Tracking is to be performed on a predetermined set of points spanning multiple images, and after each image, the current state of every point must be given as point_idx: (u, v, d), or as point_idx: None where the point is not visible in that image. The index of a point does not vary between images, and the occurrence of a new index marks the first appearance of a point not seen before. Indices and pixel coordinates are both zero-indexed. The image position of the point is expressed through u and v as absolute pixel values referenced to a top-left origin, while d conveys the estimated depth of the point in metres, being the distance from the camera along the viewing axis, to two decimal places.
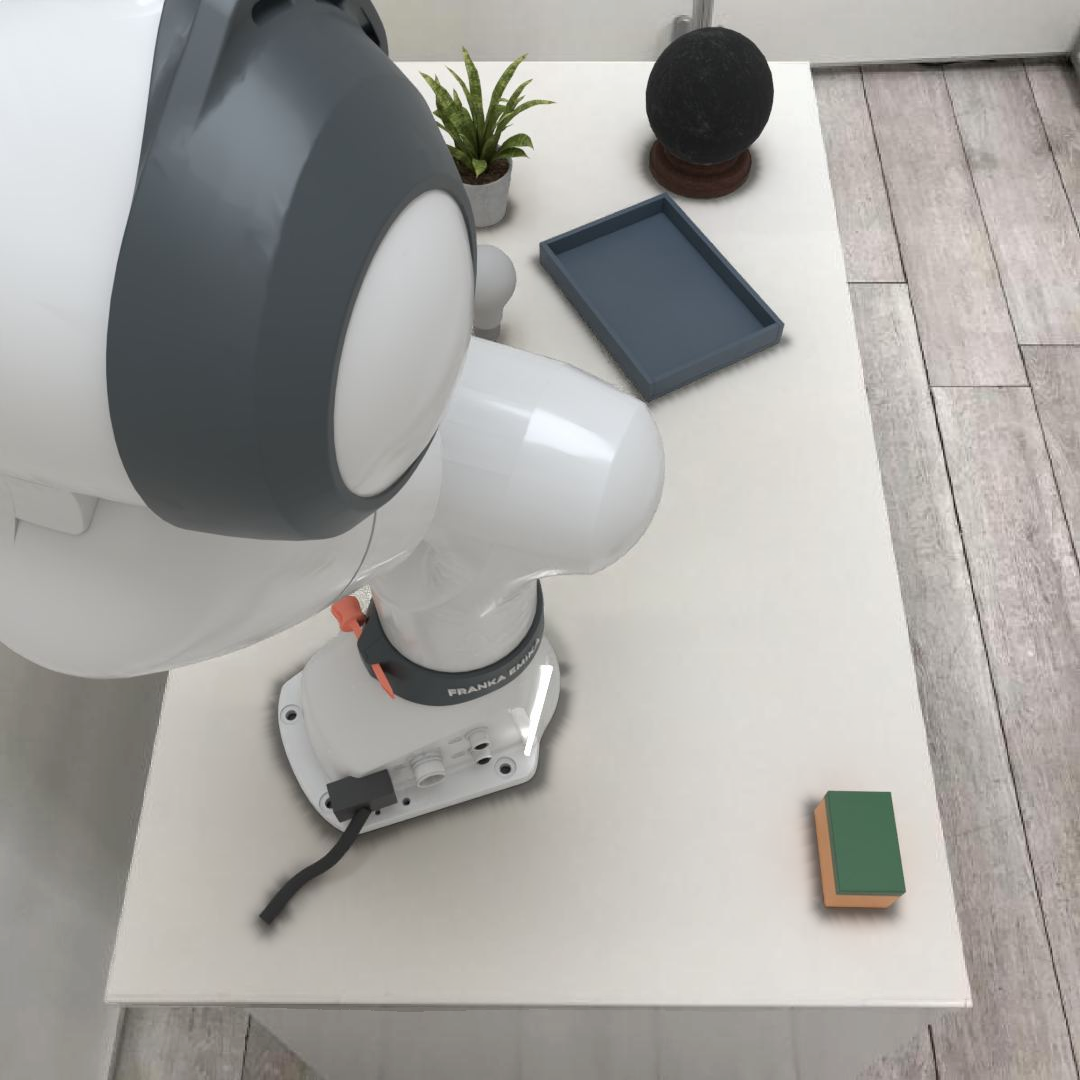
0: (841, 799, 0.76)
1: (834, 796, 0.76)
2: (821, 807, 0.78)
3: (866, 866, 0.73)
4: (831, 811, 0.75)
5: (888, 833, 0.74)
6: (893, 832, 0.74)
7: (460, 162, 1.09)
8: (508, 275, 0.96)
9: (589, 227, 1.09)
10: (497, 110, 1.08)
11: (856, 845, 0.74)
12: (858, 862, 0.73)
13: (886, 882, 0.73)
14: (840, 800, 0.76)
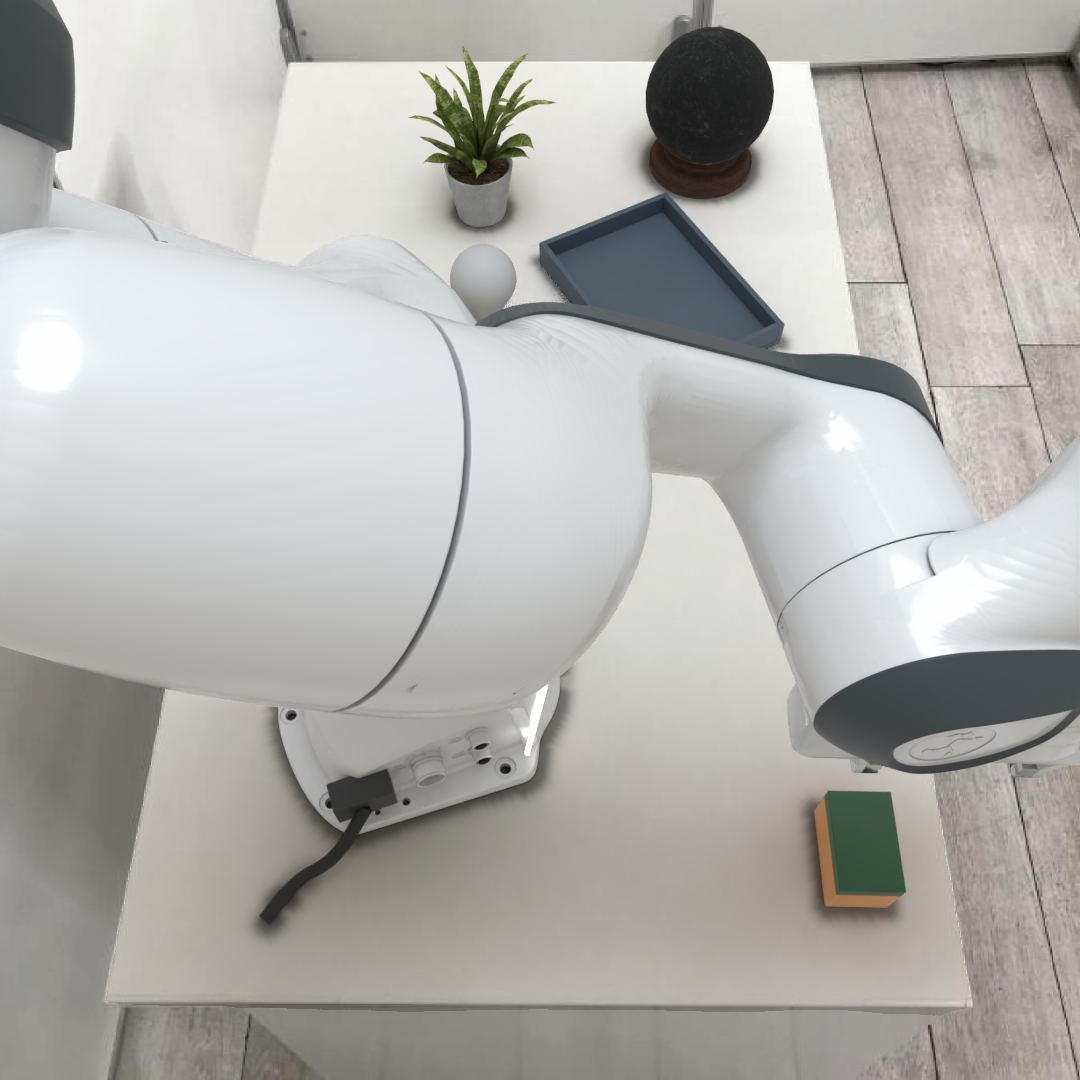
0: (841, 799, 0.76)
1: (834, 796, 0.76)
2: (821, 807, 0.78)
3: (866, 866, 0.73)
4: (831, 811, 0.75)
5: (888, 833, 0.74)
6: (893, 832, 0.74)
7: (460, 162, 1.09)
8: (508, 275, 0.96)
9: (589, 227, 1.09)
10: (497, 110, 1.08)
11: (856, 845, 0.74)
12: (858, 862, 0.73)
13: (886, 882, 0.73)
14: (840, 800, 0.76)
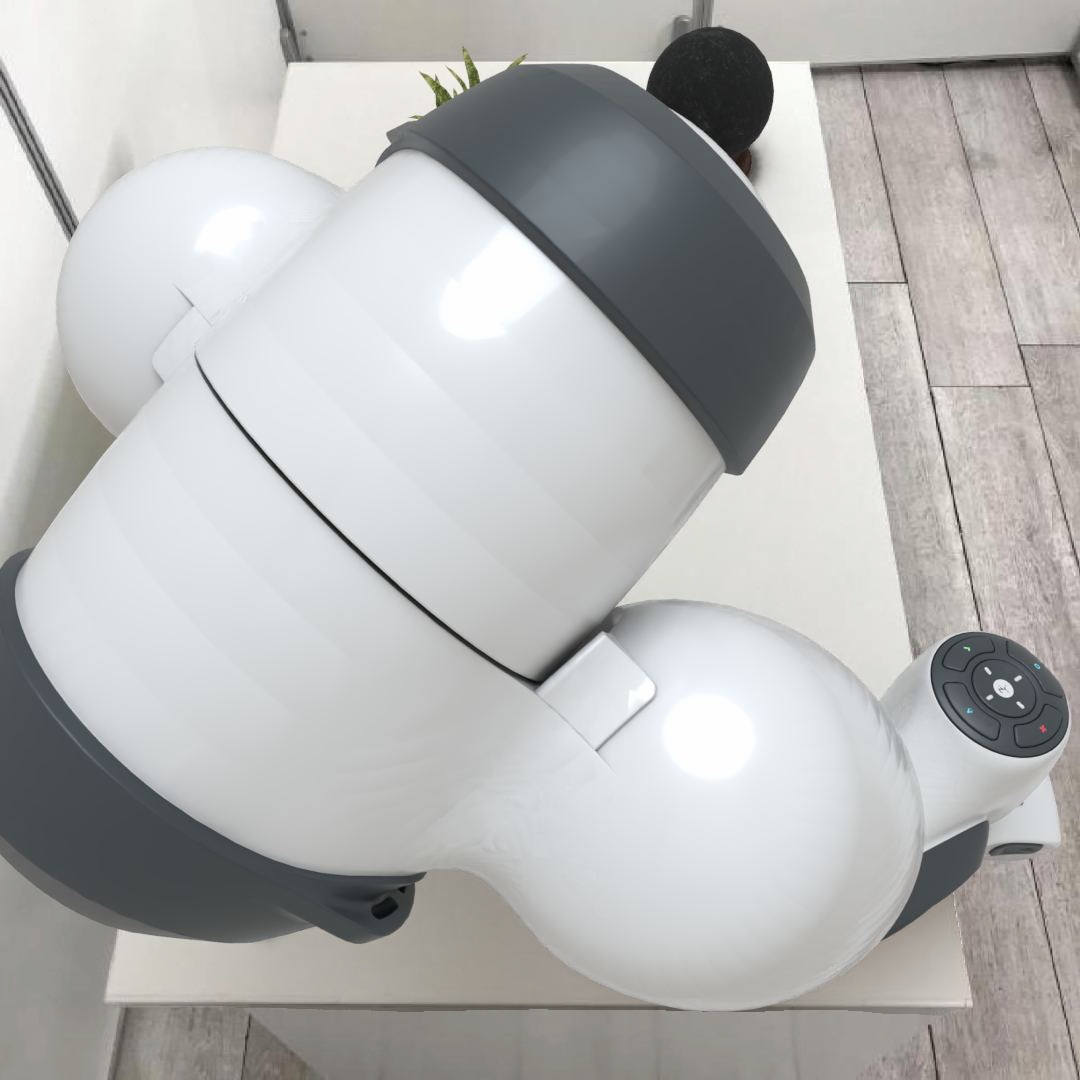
0: None
1: None
2: None
3: None
4: None
5: None
6: None
7: None
8: None
9: None
10: None
11: None
12: None
13: None
14: None
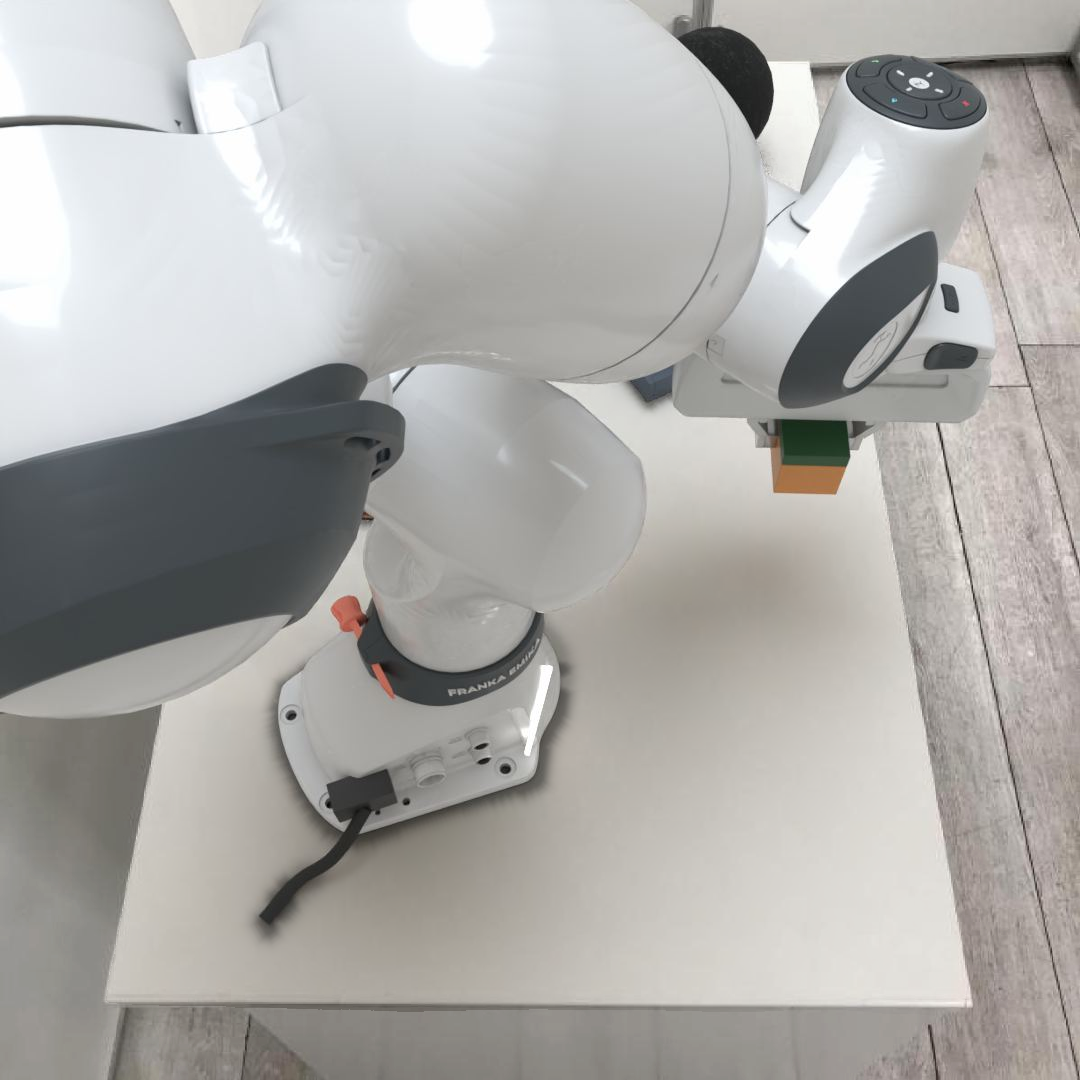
0: None
1: None
2: None
3: (812, 435, 0.74)
4: None
5: None
6: None
7: None
8: None
9: None
10: None
11: None
12: (804, 432, 0.74)
13: (831, 449, 0.73)
14: None
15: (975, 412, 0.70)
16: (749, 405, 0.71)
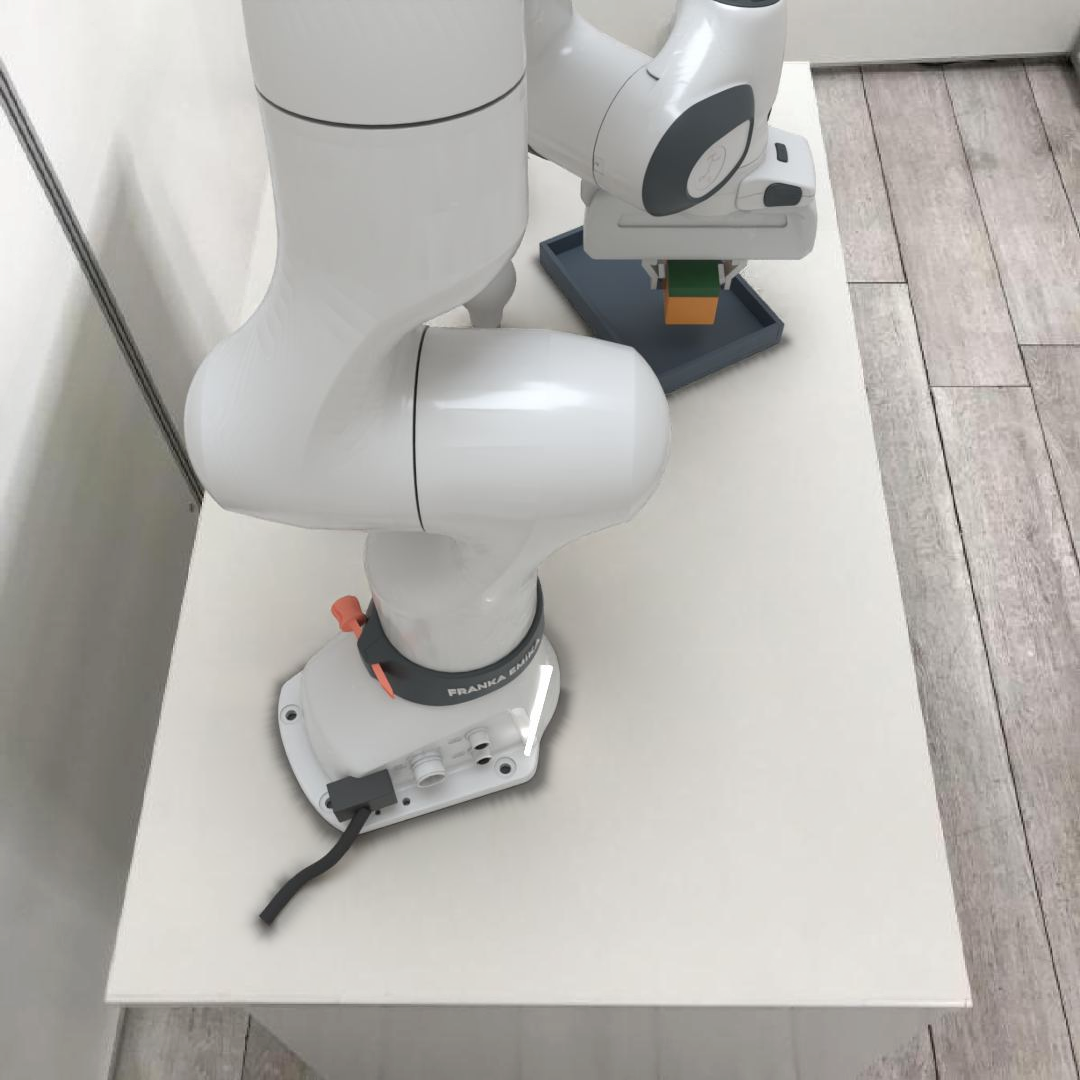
0: None
1: None
2: None
3: (691, 273, 0.96)
4: None
5: None
6: None
7: None
8: (508, 275, 0.96)
9: None
10: None
11: (685, 262, 0.97)
12: (685, 272, 0.96)
13: (705, 283, 0.95)
14: None
15: (810, 248, 0.93)
16: (641, 247, 0.93)
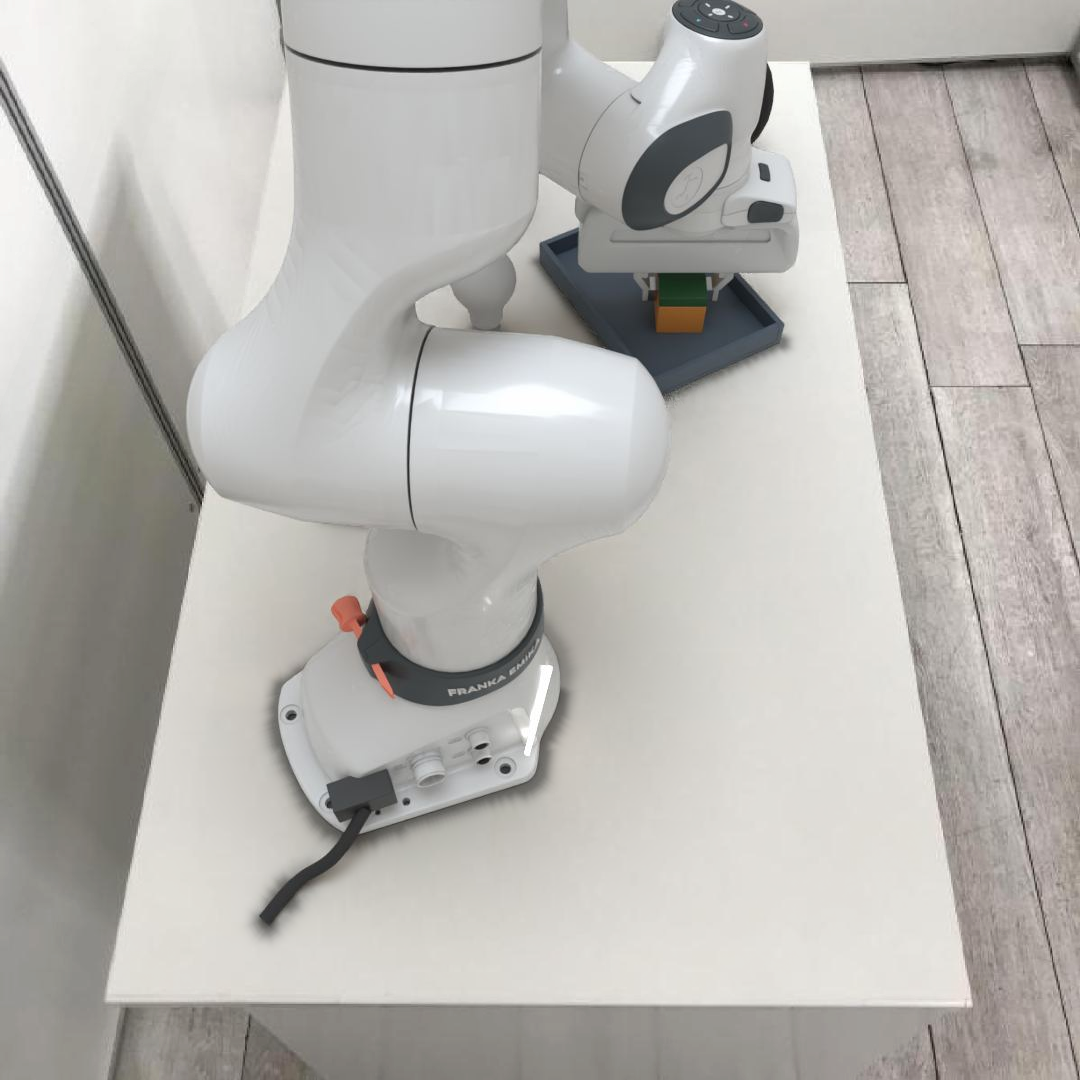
0: None
1: None
2: None
3: (680, 284, 1.01)
4: None
5: None
6: None
7: None
8: (508, 275, 0.96)
9: None
10: None
11: (675, 274, 1.02)
12: (675, 283, 1.01)
13: (694, 293, 1.00)
14: None
15: (793, 262, 0.98)
16: (632, 261, 0.98)
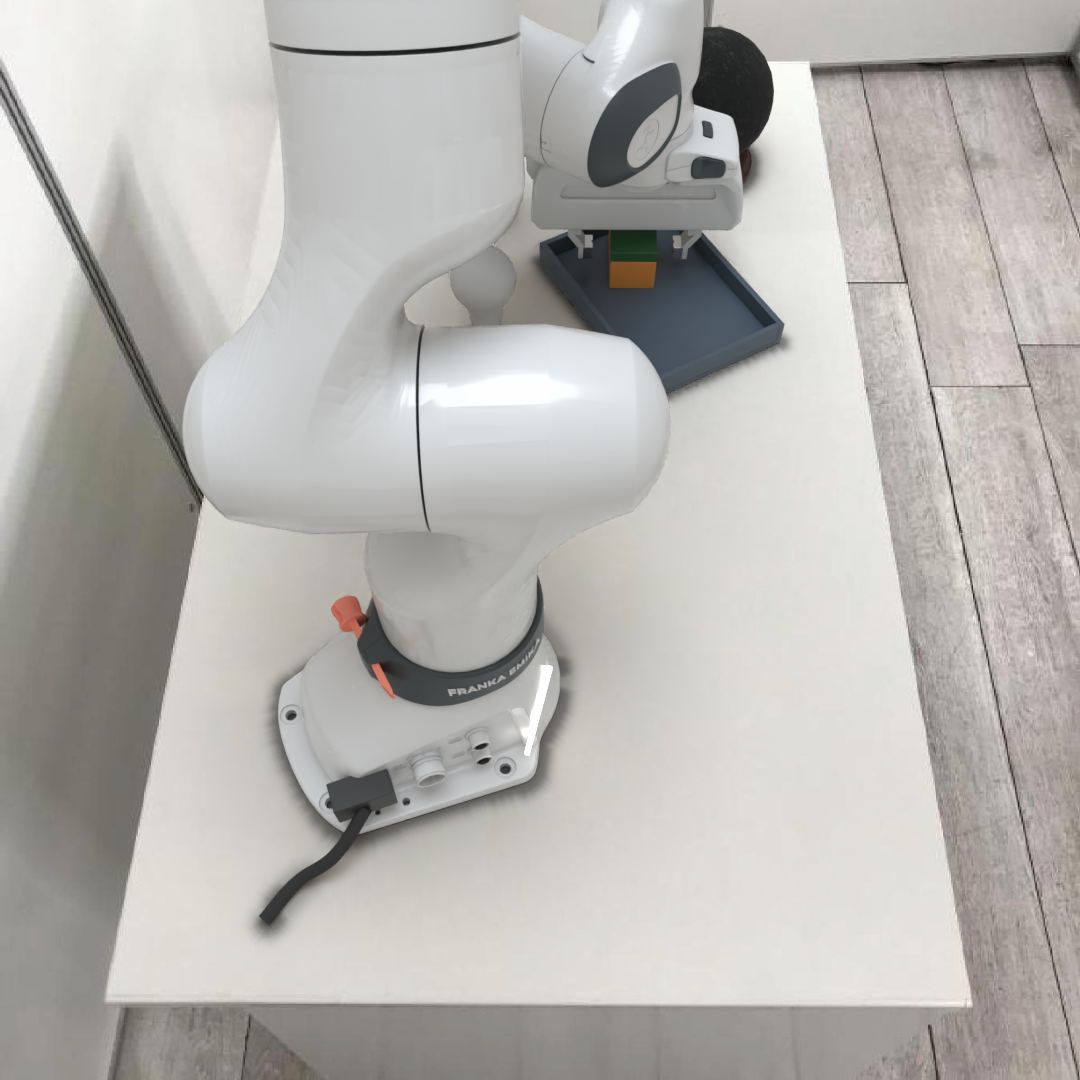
0: None
1: None
2: None
3: (631, 240, 1.04)
4: None
5: None
6: None
7: None
8: (508, 275, 0.96)
9: None
10: None
11: (626, 230, 1.05)
12: (626, 238, 1.04)
13: (644, 248, 1.03)
14: None
15: (739, 219, 1.01)
16: (583, 217, 1.01)
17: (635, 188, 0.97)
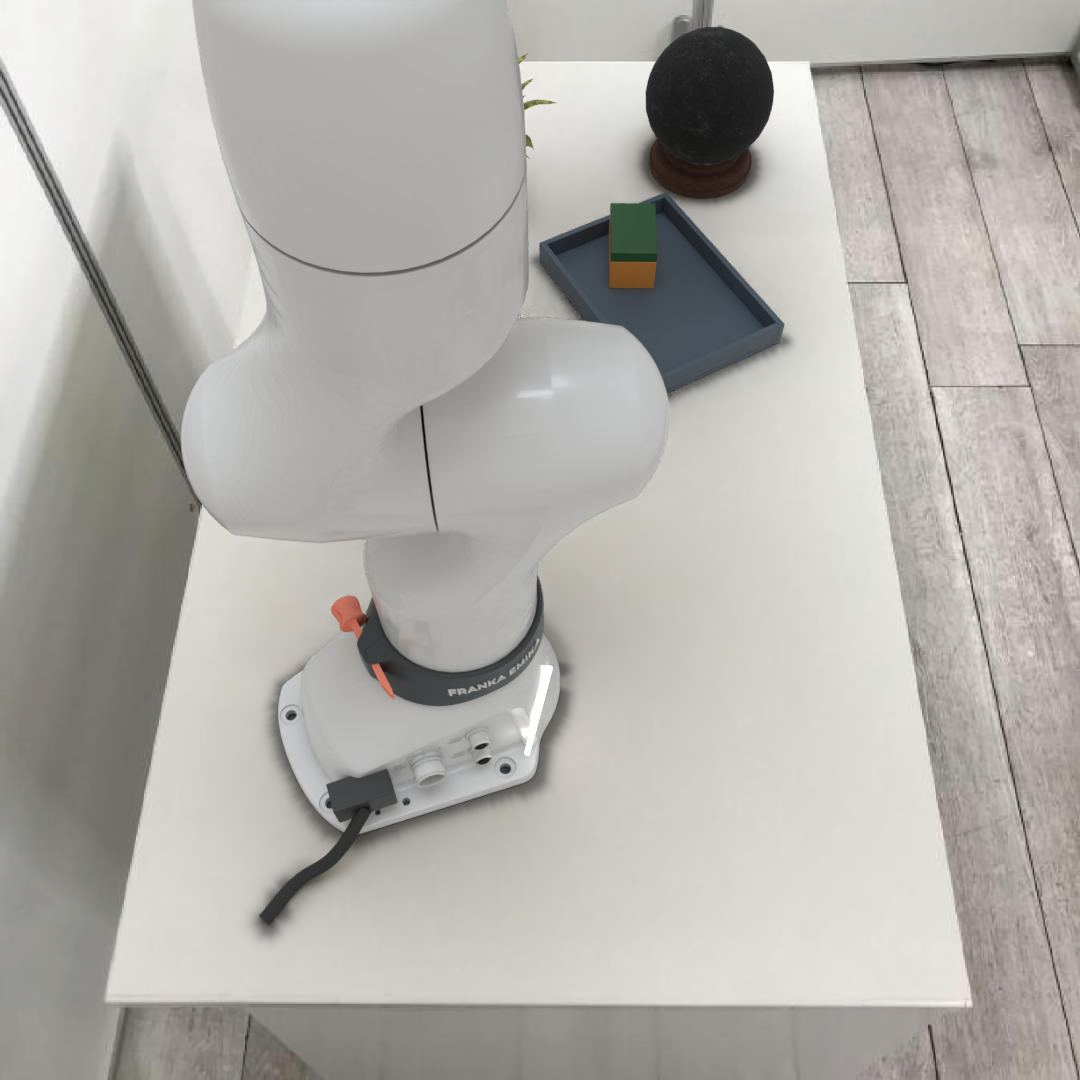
0: (619, 207, 1.06)
1: (614, 205, 1.07)
2: (609, 224, 1.09)
3: (631, 240, 1.04)
4: (611, 213, 1.06)
5: (650, 224, 1.05)
6: (653, 223, 1.05)
7: None
8: None
9: (589, 227, 1.09)
10: None
11: (626, 230, 1.05)
12: (626, 238, 1.04)
13: (644, 248, 1.03)
14: (618, 207, 1.06)
15: None
16: None
17: None
